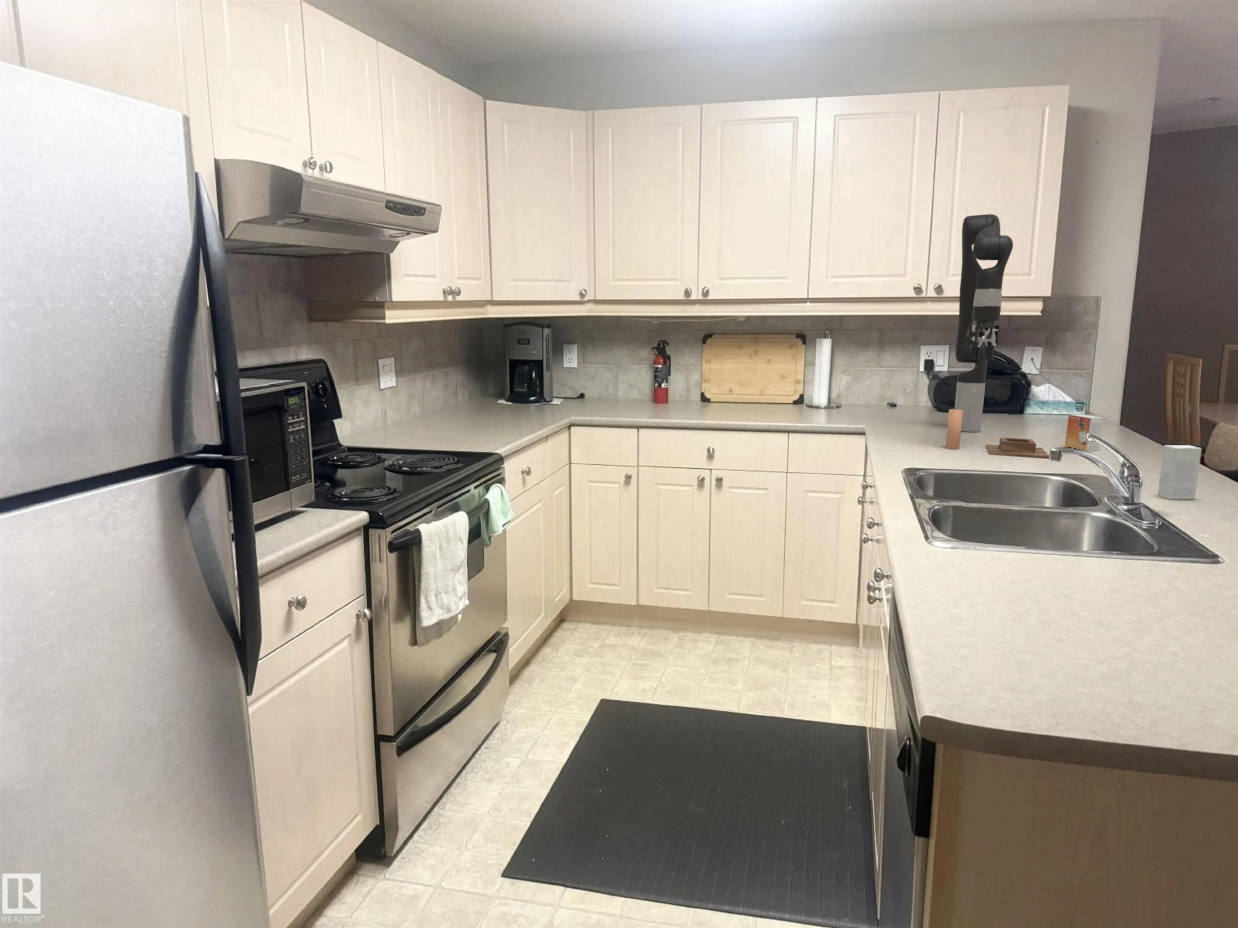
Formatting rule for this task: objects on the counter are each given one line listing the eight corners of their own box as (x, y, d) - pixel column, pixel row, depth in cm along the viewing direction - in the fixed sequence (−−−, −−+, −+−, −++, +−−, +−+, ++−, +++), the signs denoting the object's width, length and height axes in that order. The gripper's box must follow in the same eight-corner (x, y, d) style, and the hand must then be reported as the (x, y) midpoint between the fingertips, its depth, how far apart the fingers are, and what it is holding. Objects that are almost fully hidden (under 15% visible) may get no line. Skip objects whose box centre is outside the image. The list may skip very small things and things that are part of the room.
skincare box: (1181, 495, 186) (1189, 445, 184) (1194, 499, 182) (1203, 448, 180) (1155, 495, 186) (1163, 444, 184) (1168, 499, 182) (1176, 447, 180)
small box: (1063, 447, 253) (1067, 414, 251) (1076, 446, 255) (1081, 413, 253) (1086, 451, 246) (1090, 417, 244) (1099, 450, 248) (1104, 417, 246)
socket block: (985, 446, 252) (986, 435, 252) (1042, 450, 247) (1043, 438, 246) (989, 454, 238) (990, 442, 237) (1049, 458, 232) (1051, 446, 232)
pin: (945, 447, 250) (948, 408, 248) (959, 447, 249) (962, 409, 246) (945, 448, 246) (949, 410, 244) (959, 449, 245) (963, 411, 243)
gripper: (986, 305, 245) (981, 358, 248) (963, 304, 236) (958, 359, 239) (1011, 305, 240) (1005, 359, 243) (988, 304, 231) (982, 361, 234)
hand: (981, 359), depth 241 cm, fingers open, 8 cm apart
